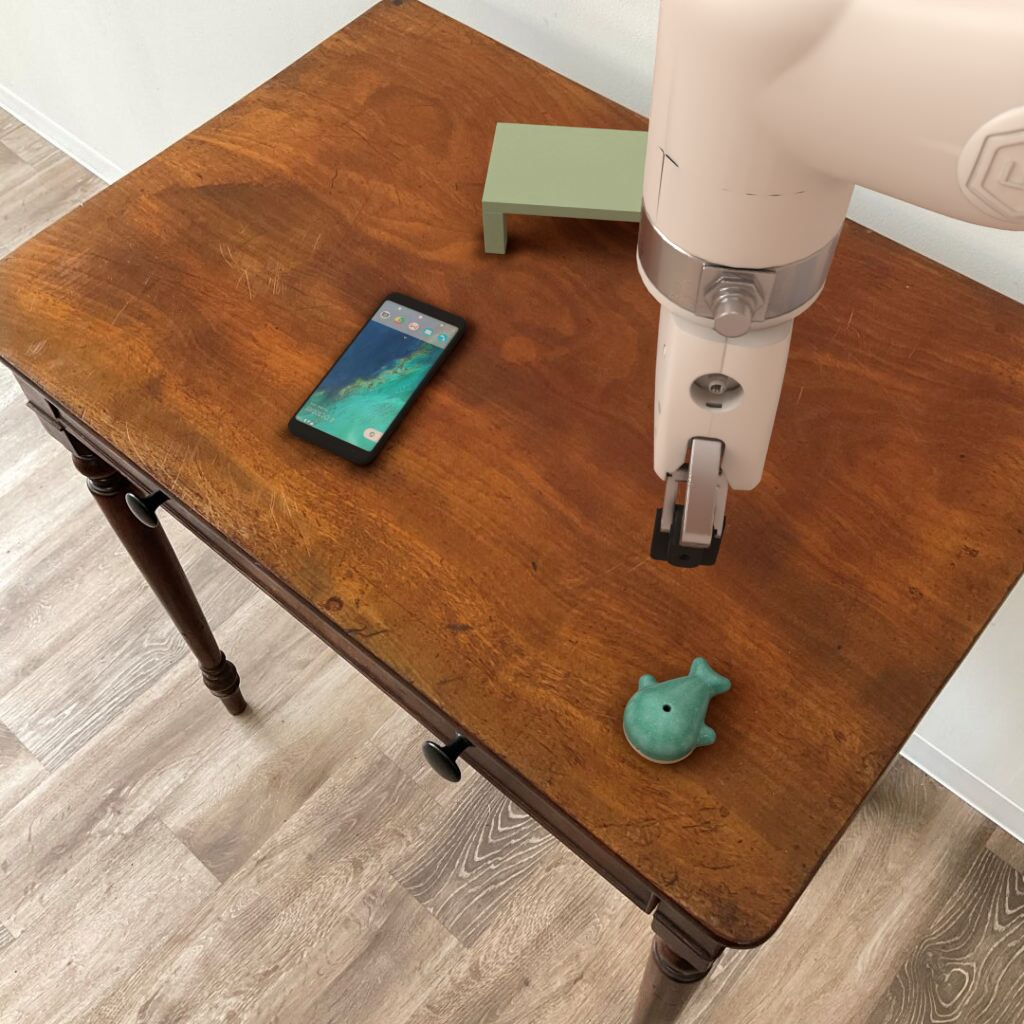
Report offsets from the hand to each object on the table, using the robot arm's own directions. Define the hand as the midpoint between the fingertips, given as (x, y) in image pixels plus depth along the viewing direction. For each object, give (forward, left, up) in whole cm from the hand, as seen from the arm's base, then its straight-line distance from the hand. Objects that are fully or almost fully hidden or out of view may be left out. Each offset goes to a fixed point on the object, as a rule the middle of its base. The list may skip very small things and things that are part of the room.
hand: (688, 476), depth 57 cm
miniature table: (+8, -36, -17) cm, 40 cm away
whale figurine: (-1, +6, -17) cm, 18 cm away
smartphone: (+22, -18, -17) cm, 33 cm away
